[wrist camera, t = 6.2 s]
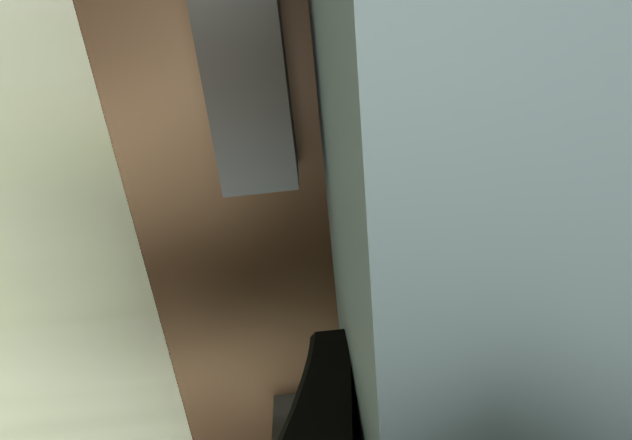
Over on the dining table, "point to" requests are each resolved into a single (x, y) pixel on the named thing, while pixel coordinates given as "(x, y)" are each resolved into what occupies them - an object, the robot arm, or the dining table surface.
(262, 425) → the hinge rail
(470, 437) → the door panel
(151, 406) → the dining table surface
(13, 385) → the dining table surface
